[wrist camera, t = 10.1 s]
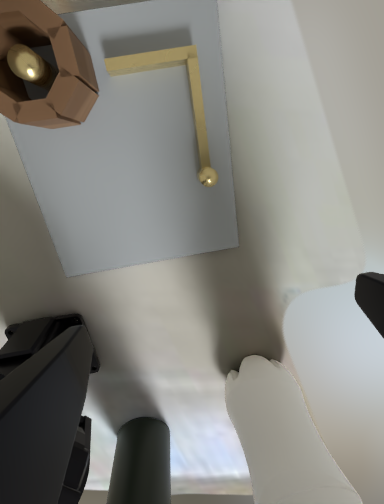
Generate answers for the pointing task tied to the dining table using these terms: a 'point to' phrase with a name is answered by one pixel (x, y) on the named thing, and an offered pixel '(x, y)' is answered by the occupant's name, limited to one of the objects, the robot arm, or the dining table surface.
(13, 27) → the walnut ring
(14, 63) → the end peg
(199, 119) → the bent rail
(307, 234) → the dining table surface
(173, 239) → the slate board
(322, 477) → the water bottle
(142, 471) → the wine bottle
